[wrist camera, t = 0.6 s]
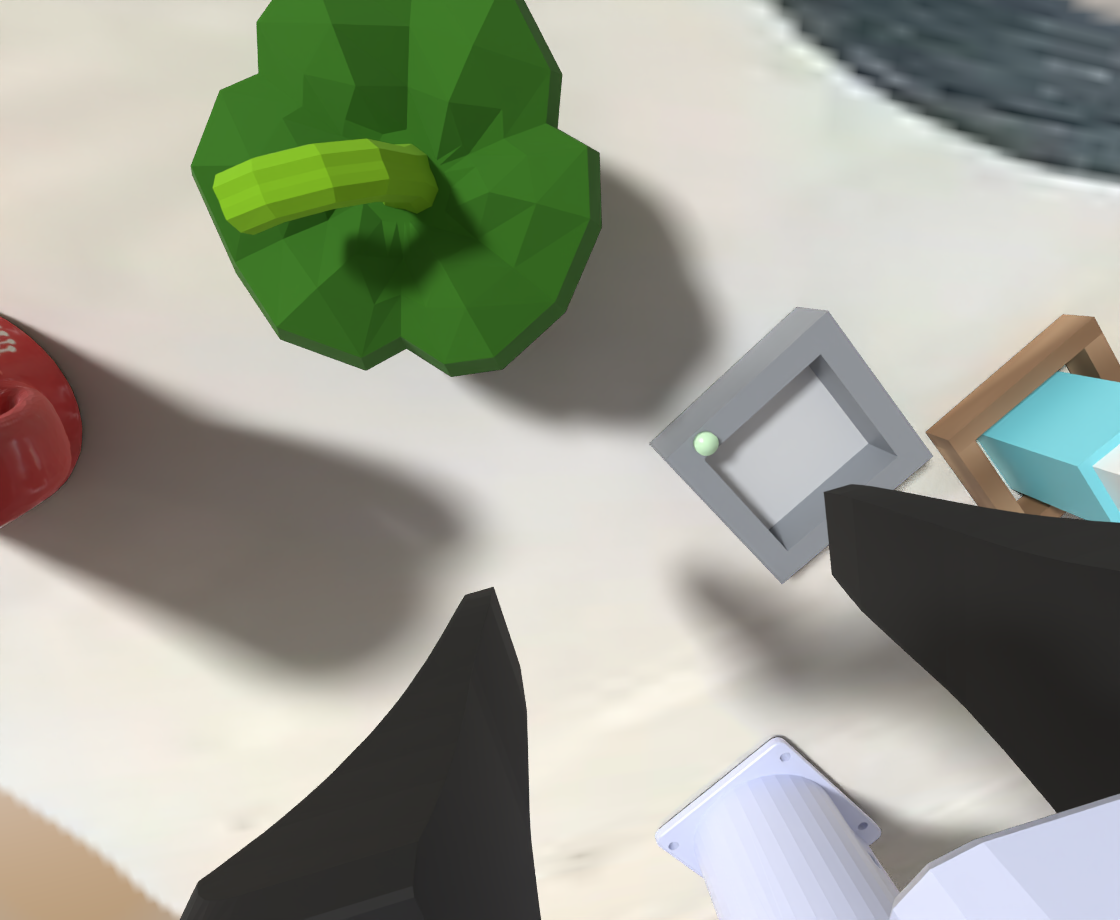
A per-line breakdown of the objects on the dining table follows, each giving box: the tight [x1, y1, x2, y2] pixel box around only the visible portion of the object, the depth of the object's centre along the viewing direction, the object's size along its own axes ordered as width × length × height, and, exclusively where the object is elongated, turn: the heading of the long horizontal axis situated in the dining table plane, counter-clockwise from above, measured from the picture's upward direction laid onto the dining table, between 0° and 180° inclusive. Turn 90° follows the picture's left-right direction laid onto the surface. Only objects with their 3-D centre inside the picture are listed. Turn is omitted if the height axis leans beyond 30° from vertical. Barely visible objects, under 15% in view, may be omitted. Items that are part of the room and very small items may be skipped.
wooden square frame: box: [926, 314, 1120, 517], centre depth 23 cm, size 7×7×1 cm
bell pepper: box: [191, 0, 602, 377], centre depth 14 cm, size 8×8×10 cm
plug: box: [977, 371, 1120, 523], centre depth 21 cm, size 4×4×6 cm
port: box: [649, 307, 933, 584], centre depth 21 cm, size 7×7×2 cm
